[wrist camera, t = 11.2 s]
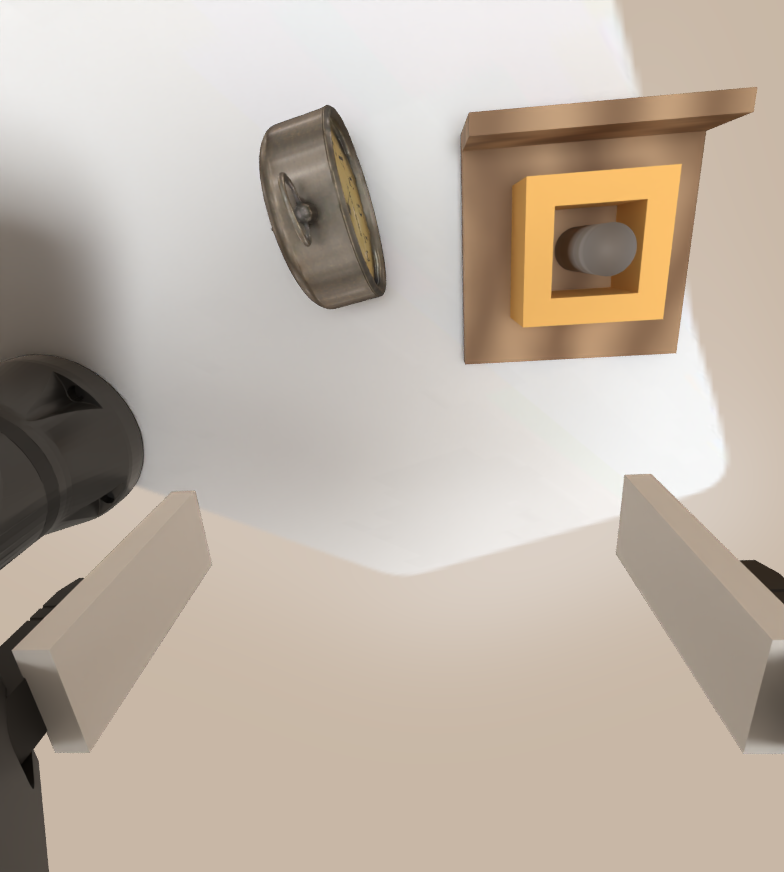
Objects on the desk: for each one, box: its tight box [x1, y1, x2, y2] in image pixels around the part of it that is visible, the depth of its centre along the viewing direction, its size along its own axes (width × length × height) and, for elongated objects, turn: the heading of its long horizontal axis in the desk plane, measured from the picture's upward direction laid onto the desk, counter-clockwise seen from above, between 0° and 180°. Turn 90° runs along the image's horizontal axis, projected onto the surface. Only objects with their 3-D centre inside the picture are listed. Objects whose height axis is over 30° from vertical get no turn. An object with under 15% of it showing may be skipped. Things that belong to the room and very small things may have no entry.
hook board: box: [461, 87, 757, 364], centre depth 33 cm, size 16×16×8 cm
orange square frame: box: [510, 164, 682, 327], centre depth 34 cm, size 9×9×5 cm
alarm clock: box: [259, 105, 386, 309], centre depth 30 cm, size 11×5×16 cm, turn 15°
